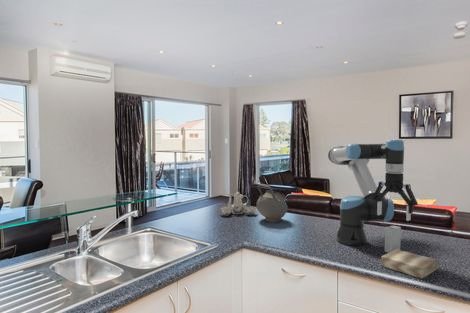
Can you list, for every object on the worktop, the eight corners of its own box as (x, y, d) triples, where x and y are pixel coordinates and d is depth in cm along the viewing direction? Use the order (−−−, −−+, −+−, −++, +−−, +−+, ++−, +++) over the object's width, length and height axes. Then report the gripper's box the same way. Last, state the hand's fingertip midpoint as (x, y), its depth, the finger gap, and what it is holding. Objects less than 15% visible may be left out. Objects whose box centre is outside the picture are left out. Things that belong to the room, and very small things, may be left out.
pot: (262, 225, 196) (262, 185, 194) (252, 217, 216) (252, 181, 214) (292, 223, 201) (292, 184, 199) (280, 215, 221) (280, 180, 219)
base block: (381, 265, 133) (381, 256, 132) (397, 257, 141) (397, 249, 141) (421, 278, 120) (422, 268, 120) (436, 269, 128) (436, 259, 128)
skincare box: (392, 249, 152) (392, 224, 151) (400, 252, 148) (401, 227, 147) (383, 251, 149) (384, 226, 149) (392, 254, 145) (393, 228, 145)
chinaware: (221, 219, 217) (221, 196, 215) (217, 211, 233) (217, 190, 231) (259, 217, 223) (260, 195, 220) (253, 210, 239) (254, 189, 236)
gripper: (365, 171, 154) (364, 213, 155) (419, 175, 134) (418, 224, 135) (373, 170, 159) (372, 211, 160) (426, 174, 139) (425, 221, 140)
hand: (393, 217), depth 148 cm, fingers open, 13 cm apart
